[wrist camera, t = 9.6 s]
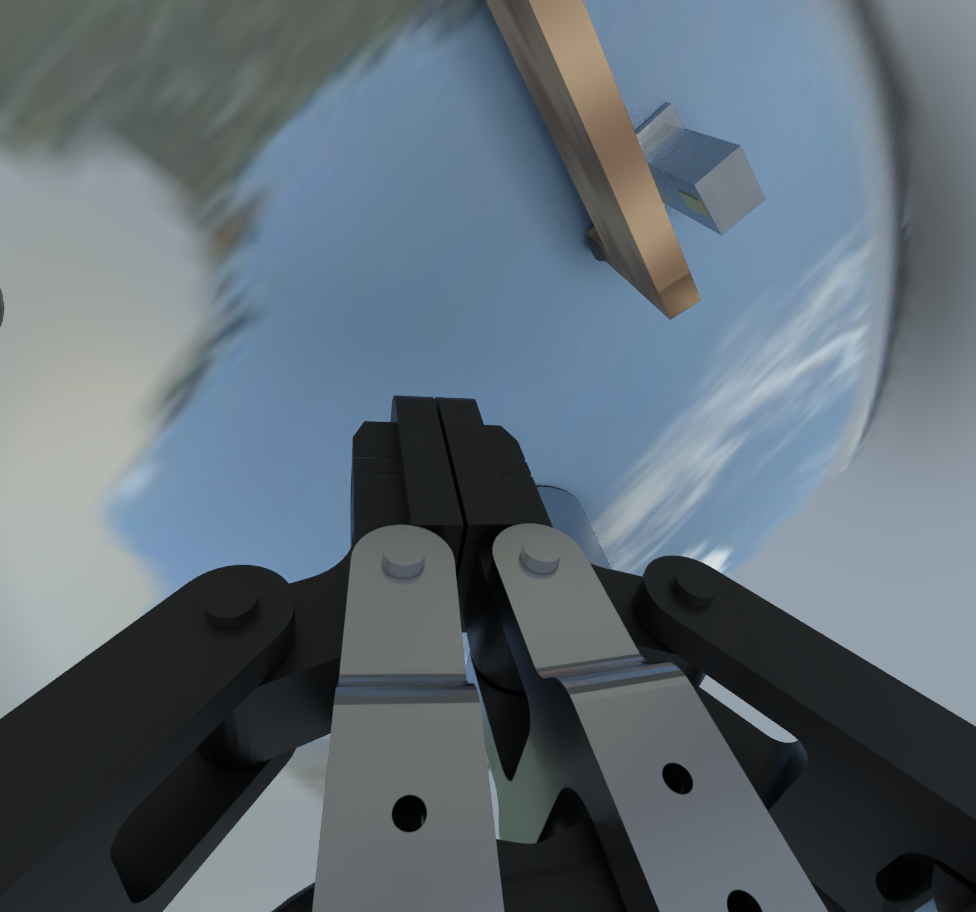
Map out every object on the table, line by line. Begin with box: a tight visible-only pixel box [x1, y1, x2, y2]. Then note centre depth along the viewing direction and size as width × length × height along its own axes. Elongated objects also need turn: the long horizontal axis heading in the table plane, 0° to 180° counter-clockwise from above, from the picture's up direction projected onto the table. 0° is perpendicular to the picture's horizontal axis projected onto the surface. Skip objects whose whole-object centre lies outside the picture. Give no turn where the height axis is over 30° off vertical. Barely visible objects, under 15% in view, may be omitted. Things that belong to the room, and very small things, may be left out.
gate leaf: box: [486, 0, 701, 319], centre depth 27 cm, size 16×2×10 cm, turn 32°
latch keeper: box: [635, 102, 766, 235], centre depth 30 cm, size 4×4×8 cm
